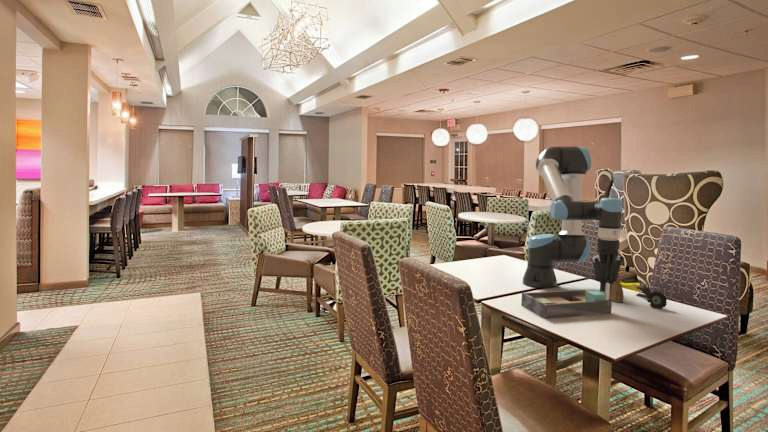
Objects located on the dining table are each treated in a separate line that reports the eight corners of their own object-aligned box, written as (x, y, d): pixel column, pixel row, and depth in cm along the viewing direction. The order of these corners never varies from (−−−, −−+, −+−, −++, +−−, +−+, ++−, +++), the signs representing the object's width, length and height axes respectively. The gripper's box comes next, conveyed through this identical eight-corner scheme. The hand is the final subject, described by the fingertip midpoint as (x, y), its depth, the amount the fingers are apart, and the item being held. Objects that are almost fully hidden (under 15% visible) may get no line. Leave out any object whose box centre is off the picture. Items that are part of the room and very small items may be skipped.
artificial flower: (643, 311, 178) (636, 285, 179) (636, 302, 198) (630, 280, 199) (669, 307, 174) (662, 282, 175) (659, 299, 195) (653, 276, 196)
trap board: (521, 305, 178) (521, 293, 178) (583, 301, 184) (584, 289, 184) (544, 318, 163) (544, 305, 162) (611, 313, 169) (611, 300, 168)
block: (585, 301, 174) (585, 291, 173) (596, 300, 175) (597, 290, 175) (594, 305, 169) (594, 295, 169) (605, 304, 170) (606, 294, 170)
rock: (632, 298, 181) (626, 289, 191) (619, 281, 181) (614, 273, 190) (607, 311, 185) (603, 301, 195) (594, 294, 185) (591, 285, 194)
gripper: (600, 240, 165) (596, 303, 168) (630, 240, 168) (626, 301, 171) (587, 237, 172) (583, 297, 175) (616, 237, 176) (612, 295, 178)
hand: (604, 299), depth 173 cm, fingers closed
